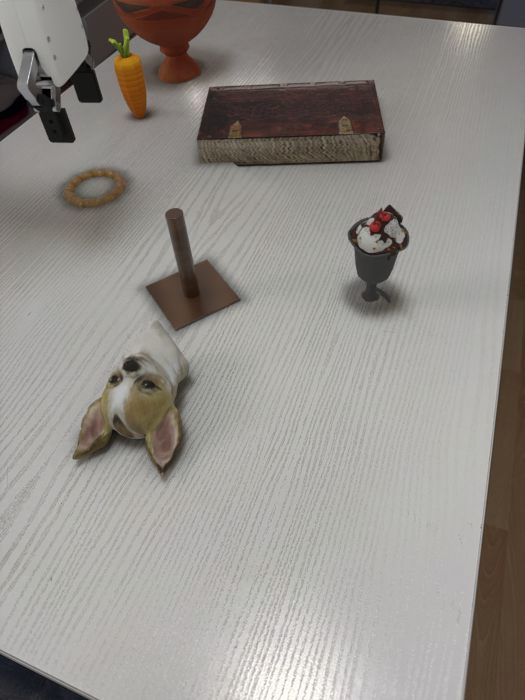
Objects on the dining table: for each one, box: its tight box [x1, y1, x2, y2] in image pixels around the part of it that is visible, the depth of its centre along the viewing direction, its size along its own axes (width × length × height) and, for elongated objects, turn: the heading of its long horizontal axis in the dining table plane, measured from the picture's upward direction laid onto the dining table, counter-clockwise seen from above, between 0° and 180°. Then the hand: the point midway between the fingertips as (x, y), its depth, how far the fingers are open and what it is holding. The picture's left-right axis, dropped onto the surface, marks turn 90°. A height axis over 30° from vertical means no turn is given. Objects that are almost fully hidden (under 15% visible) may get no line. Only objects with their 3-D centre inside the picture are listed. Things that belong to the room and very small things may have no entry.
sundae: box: [347, 204, 410, 304], centre depth 61 cm, size 7×7×15 cm
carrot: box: [108, 28, 148, 120], centre depth 94 cm, size 5×5×15 cm
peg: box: [145, 207, 241, 332], centre depth 64 cm, size 9×9×13 cm
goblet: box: [112, 0, 217, 84], centre depth 101 cm, size 19×19×25 cm
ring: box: [62, 168, 127, 208], centre depth 85 cm, size 10×10×2 cm
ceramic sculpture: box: [71, 320, 190, 476], centre depth 55 cm, size 11×9×15 cm
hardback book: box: [196, 79, 386, 166], centre depth 91 cm, size 29×19×5 cm, turn 88°
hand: (77, 120), depth 68 cm, fingers open, 9 cm apart
